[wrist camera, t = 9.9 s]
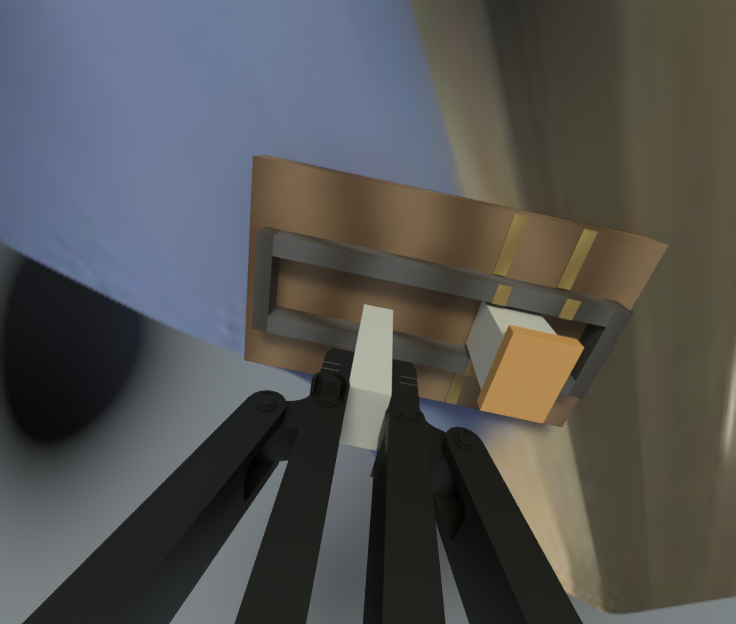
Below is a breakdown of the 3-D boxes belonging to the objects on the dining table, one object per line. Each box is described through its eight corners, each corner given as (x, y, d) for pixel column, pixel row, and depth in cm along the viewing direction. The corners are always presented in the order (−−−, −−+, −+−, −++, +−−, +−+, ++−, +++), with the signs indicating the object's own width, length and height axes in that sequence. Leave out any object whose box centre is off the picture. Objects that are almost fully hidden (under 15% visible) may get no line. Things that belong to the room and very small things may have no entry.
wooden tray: (254, 346, 28) (234, 373, 24) (265, 155, 22) (240, 157, 18) (551, 408, 28) (571, 444, 24) (646, 236, 22) (691, 253, 18)
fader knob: (462, 351, 24) (479, 410, 19) (486, 287, 22) (513, 332, 16) (511, 362, 24) (542, 423, 19) (540, 298, 22) (584, 347, 16)
